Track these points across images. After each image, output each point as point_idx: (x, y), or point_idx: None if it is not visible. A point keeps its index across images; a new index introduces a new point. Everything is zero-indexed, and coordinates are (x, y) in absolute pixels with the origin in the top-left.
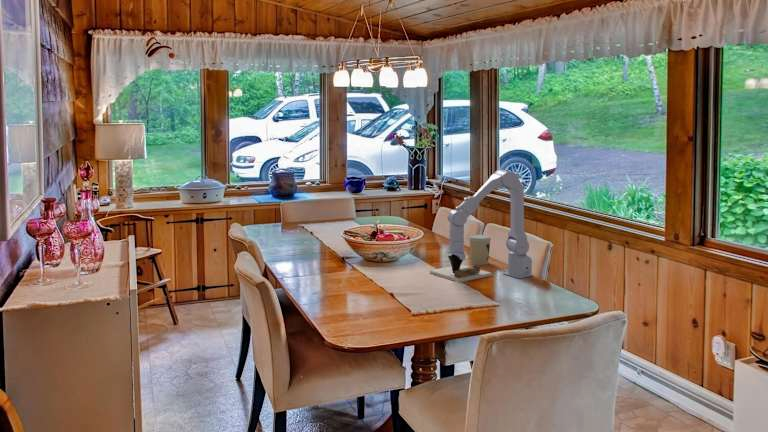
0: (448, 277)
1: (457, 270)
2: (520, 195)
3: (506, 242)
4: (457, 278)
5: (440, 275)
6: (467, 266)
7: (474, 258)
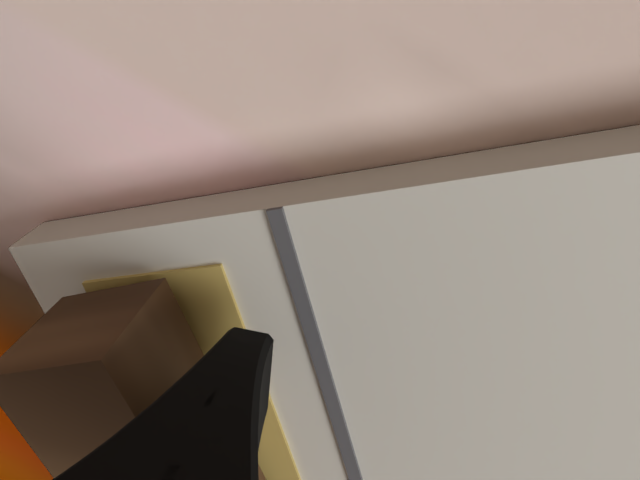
0: (289, 195)
1: (82, 401)
2: None
3: None
4: (73, 262)
5: (563, 147)
6: None
7: None
